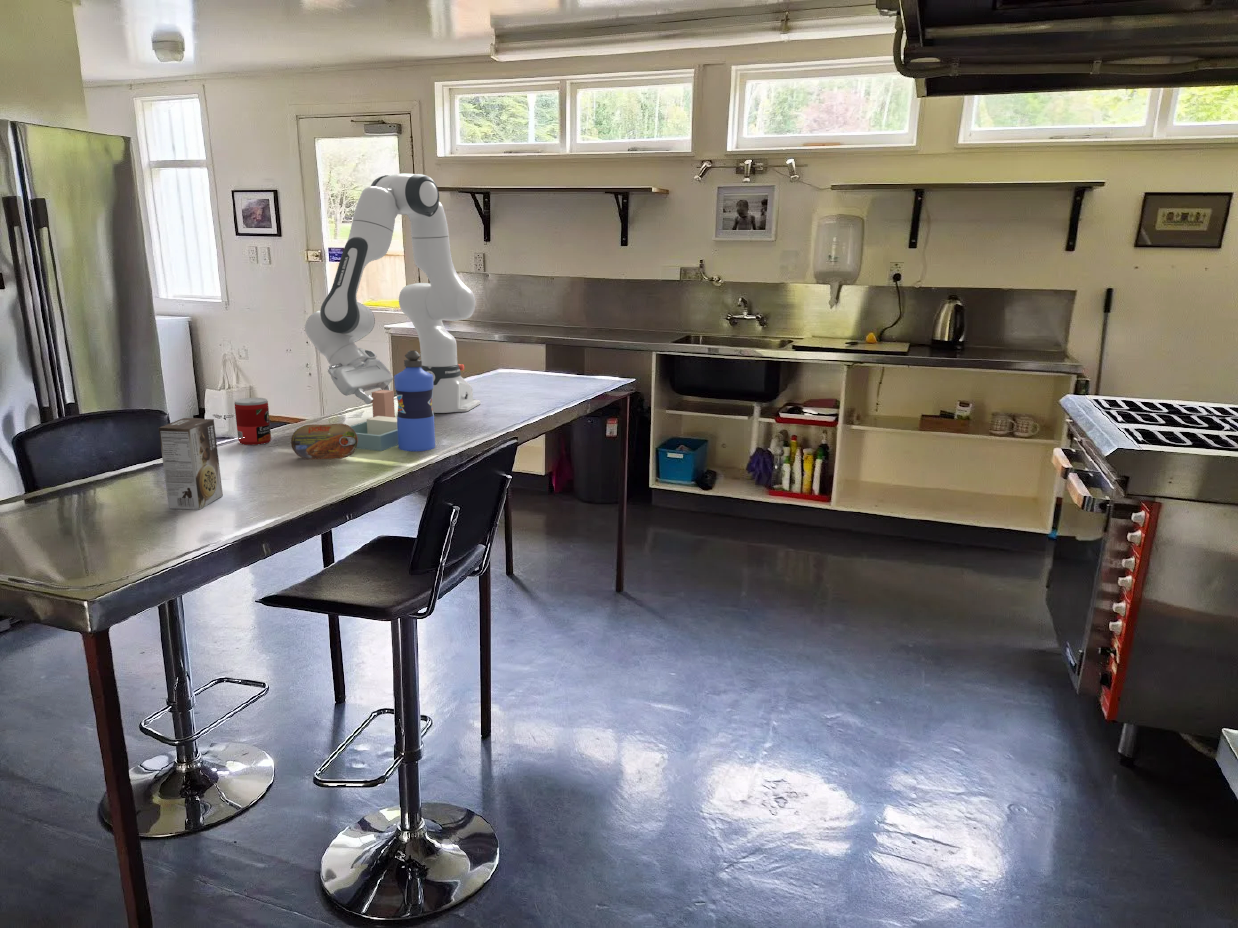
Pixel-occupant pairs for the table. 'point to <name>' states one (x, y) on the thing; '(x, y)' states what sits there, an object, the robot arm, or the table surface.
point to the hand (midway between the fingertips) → (381, 399)
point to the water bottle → (414, 406)
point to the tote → (374, 438)
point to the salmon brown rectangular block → (383, 403)
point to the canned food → (252, 421)
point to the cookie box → (190, 463)
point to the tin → (324, 441)
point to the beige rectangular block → (381, 425)
